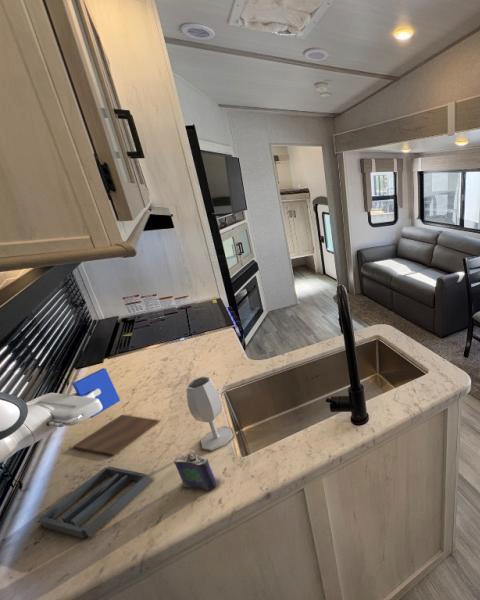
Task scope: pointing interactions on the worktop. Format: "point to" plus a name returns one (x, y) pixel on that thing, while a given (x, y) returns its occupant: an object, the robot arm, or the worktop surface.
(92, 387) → the lid
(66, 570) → the worktop surface
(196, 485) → the flask
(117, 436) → the board
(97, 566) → the worktop surface
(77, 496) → the rack
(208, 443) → the wineglass
